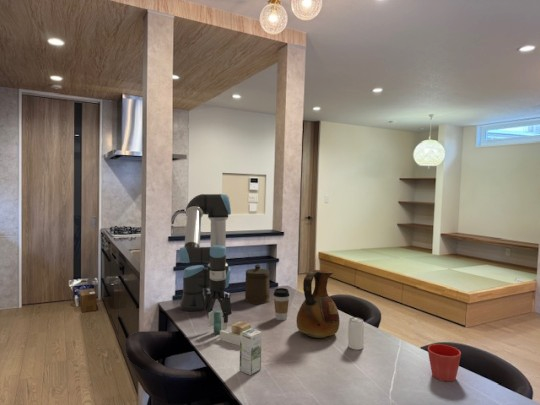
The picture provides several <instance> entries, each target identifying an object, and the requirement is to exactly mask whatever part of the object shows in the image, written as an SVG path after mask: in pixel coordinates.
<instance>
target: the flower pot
mask: <svg viewBox="0 0 540 405" xmlns="http://www.w3.org/2000/svg"><path fill="white" fill-rule="evenodd" d="M427 354H428V359H429V364H430V371H431V375H432V376H433V377H434V379H436V380H438V381H439V380H440V381H441V382H454V381H456V379H457V375H458V370H459V367H460V360H461V356H462V352H461V350H459V349H458V348H457V347H454V346H451V345H447V344H443V343H442V344H441V343H439V344H437V343H434V344H430V345H429V346H428V347H427Z"/></svg>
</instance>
